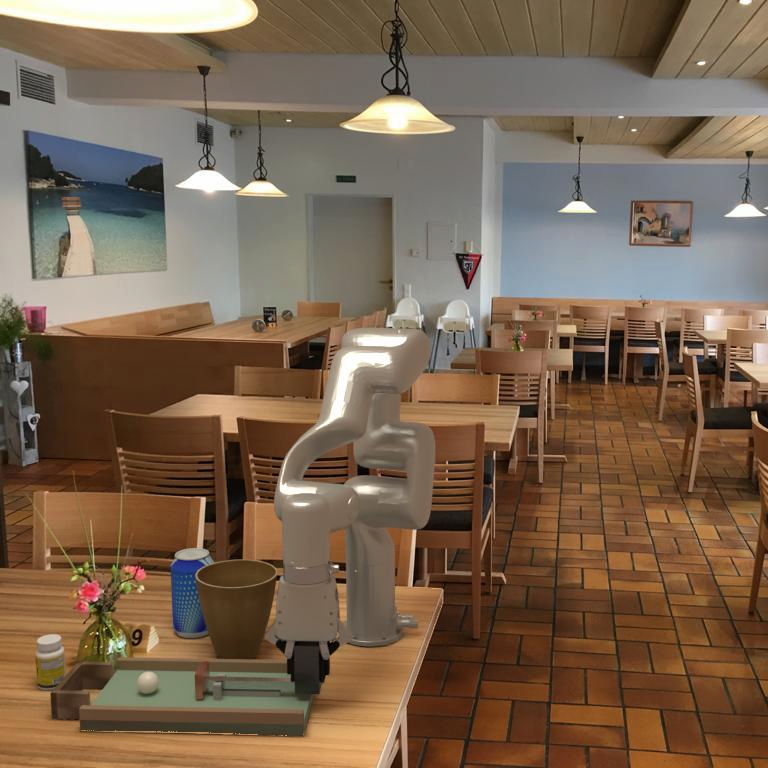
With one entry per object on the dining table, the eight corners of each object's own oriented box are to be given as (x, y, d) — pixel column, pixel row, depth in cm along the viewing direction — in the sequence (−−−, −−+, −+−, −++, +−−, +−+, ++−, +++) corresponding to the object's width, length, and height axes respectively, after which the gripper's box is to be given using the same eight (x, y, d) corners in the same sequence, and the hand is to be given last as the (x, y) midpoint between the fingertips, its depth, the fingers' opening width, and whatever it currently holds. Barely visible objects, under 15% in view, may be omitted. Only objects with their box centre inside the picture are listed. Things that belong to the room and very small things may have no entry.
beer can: (221, 623, 178) (219, 547, 176) (209, 640, 170) (206, 561, 168) (181, 621, 179) (178, 545, 177) (167, 639, 171) (163, 560, 169)
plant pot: (216, 680, 154) (213, 593, 152) (186, 649, 166) (183, 567, 164) (292, 659, 162) (291, 576, 160) (259, 631, 174) (257, 553, 172)
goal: (113, 686, 152) (112, 662, 151) (88, 720, 141) (87, 694, 140) (79, 686, 152) (78, 661, 152) (51, 719, 141) (50, 693, 140)
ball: (162, 687, 147) (161, 668, 147) (155, 698, 144) (154, 677, 143) (141, 687, 147) (140, 667, 147) (134, 697, 144) (133, 677, 143)
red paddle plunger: (322, 687, 146) (322, 634, 145) (319, 701, 142) (318, 647, 140) (202, 684, 147) (201, 632, 146) (195, 699, 143) (193, 645, 141)
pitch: (317, 681, 153) (317, 656, 153) (303, 736, 136) (302, 708, 135) (120, 677, 155) (119, 652, 155) (80, 731, 137) (78, 704, 137)
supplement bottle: (42, 678, 155) (39, 633, 154) (69, 677, 155) (67, 632, 154) (33, 692, 150) (30, 645, 149) (62, 690, 151) (59, 644, 149)
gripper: (360, 563, 144) (361, 669, 147) (259, 562, 145) (262, 666, 148) (356, 580, 137) (357, 691, 140) (250, 578, 138) (253, 688, 141)
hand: (308, 677), depth 144 cm, fingers closed on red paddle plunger, 4 cm apart
